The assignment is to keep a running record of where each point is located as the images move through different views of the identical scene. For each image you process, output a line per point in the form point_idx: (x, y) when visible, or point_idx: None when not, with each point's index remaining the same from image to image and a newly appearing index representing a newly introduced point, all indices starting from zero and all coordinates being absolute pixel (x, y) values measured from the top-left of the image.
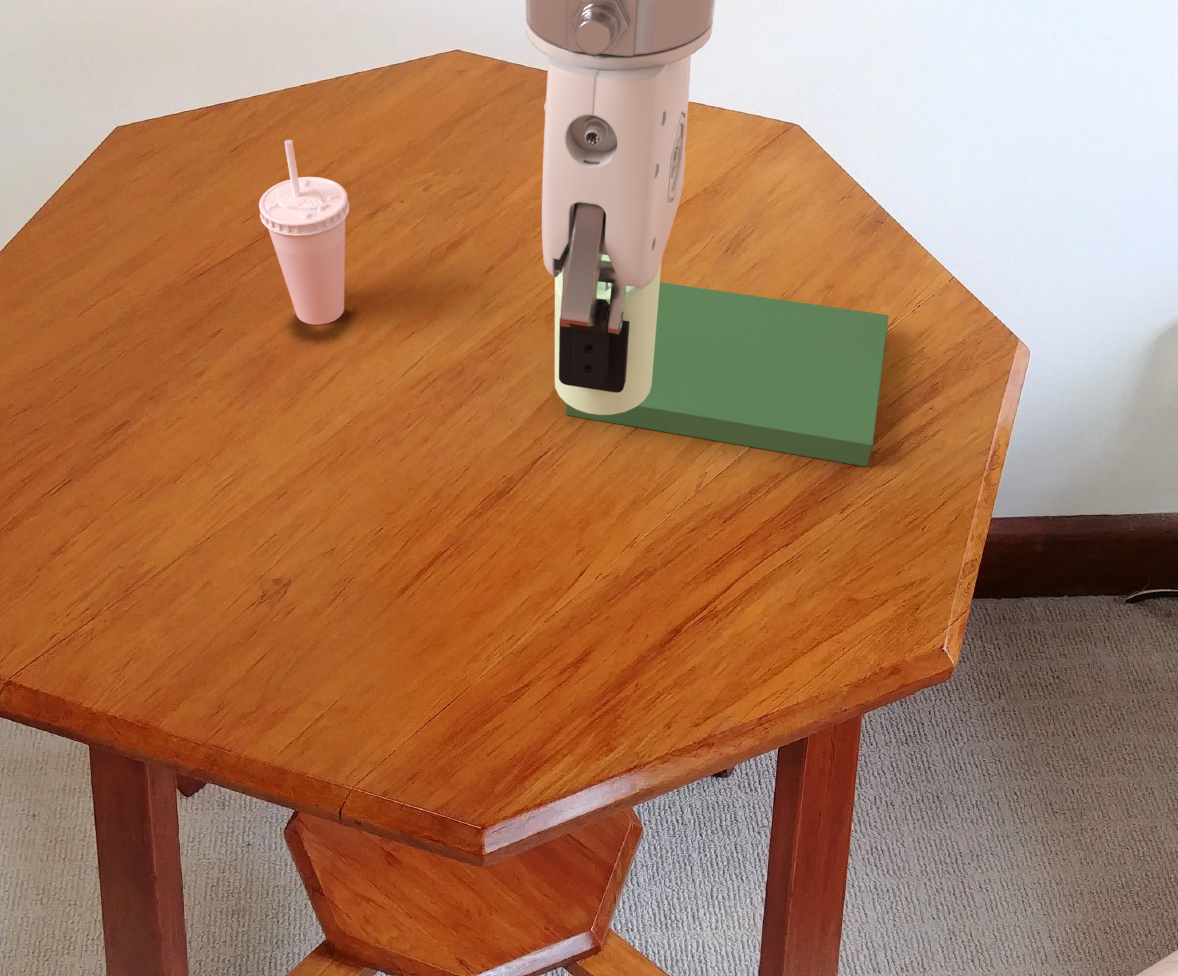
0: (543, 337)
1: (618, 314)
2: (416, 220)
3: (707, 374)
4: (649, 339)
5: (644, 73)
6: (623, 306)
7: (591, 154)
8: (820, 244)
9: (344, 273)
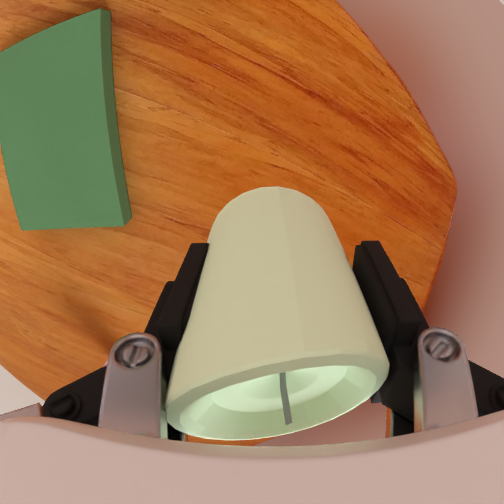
0: (77, 250)
1: (469, 369)
2: (44, 331)
3: (68, 138)
4: (307, 240)
5: None
6: (434, 366)
7: None
8: None
9: (106, 364)
